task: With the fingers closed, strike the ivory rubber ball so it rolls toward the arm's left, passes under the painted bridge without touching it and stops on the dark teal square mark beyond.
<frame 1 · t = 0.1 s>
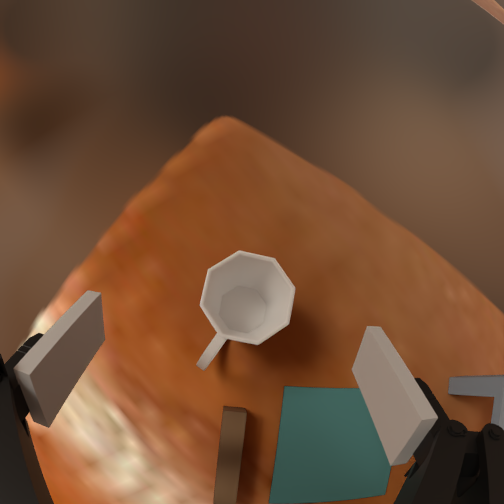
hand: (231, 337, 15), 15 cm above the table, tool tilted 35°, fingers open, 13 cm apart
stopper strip: (228, 454, 26), on the table
cup: (233, 324, 30), on the table
bridge: (451, 433, 27), on the table
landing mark: (339, 448, 27), on the table
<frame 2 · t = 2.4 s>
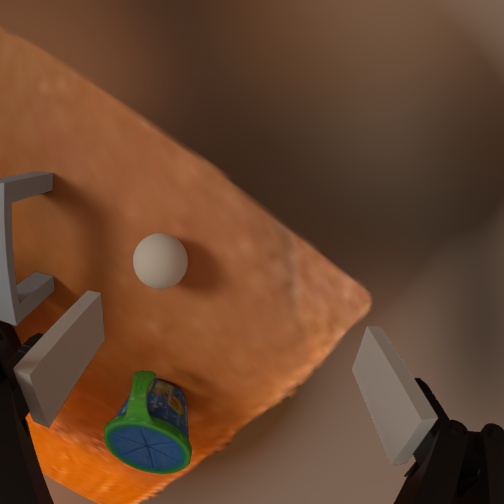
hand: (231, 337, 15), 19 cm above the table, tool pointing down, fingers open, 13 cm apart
snack cup: (160, 395, 40), on the table
ball: (160, 261, 31), on the table
bridge: (42, 233, 32), on the table
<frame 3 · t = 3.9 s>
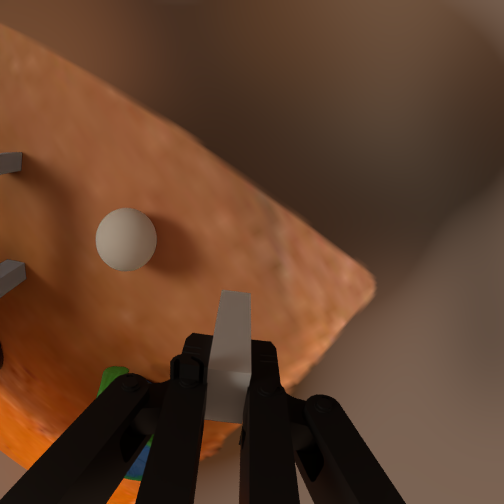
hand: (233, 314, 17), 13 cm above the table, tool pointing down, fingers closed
snack cup: (141, 394, 35), on the table
ball: (126, 239, 26), on the table
bridge: (12, 217, 28), on the table
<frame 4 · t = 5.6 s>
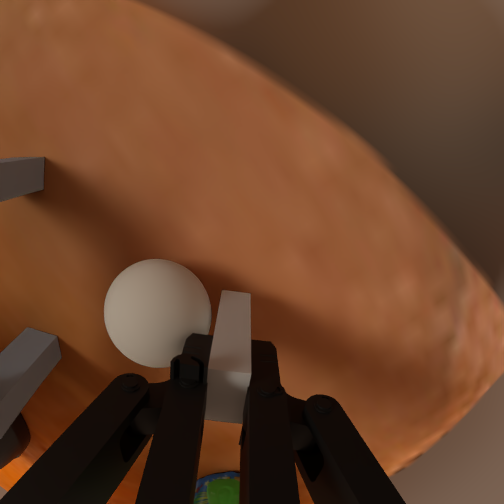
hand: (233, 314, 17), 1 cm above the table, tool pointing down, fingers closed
snack cup: (233, 485, 25), on the table
ball: (157, 313, 15), on the table
bridge: (31, 265, 18), on the table
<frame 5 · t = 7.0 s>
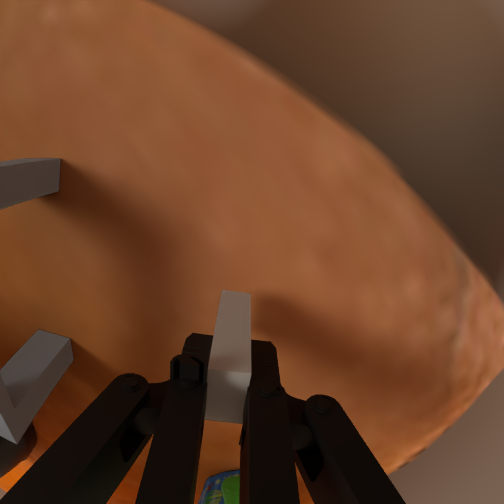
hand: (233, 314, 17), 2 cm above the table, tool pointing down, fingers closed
snack cup: (242, 483, 25), on the table
bridge: (44, 268, 18), on the table
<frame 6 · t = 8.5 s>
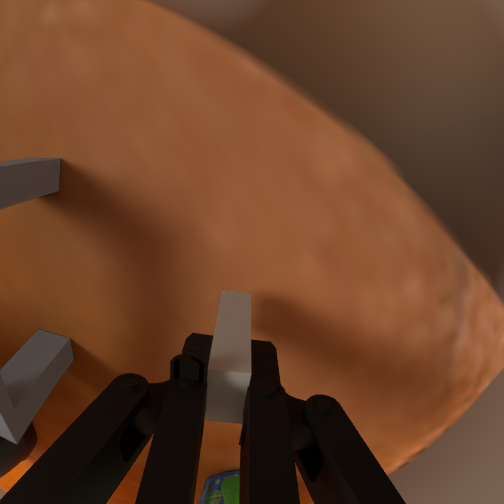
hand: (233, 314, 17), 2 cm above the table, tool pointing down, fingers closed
snack cup: (242, 483, 25), on the table
bridge: (44, 268, 18), on the table
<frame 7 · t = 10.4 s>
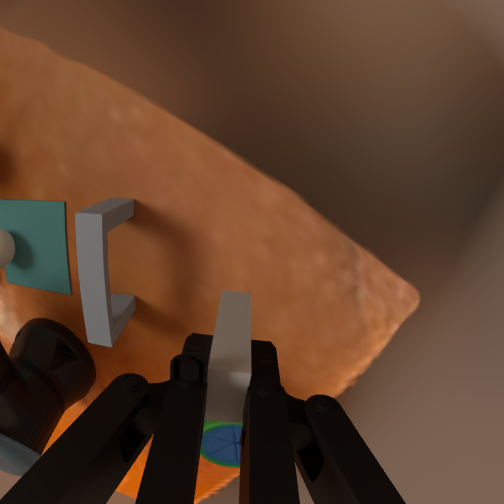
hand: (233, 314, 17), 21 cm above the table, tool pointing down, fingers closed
snack cup: (236, 396, 45), on the table
bridge: (122, 256, 38), on the table
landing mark: (31, 245, 37), on the table
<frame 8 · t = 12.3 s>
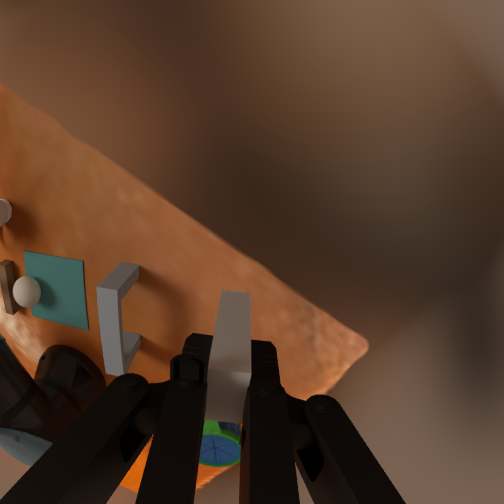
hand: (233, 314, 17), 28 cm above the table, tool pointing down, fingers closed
snack cup: (218, 411, 56), on the table
ball: (26, 291, 45), on the table
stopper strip: (12, 285, 47), on the table
cup: (2, 217, 44), on the table
bridge: (130, 305, 48), on the table
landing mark: (54, 290, 48), on the table
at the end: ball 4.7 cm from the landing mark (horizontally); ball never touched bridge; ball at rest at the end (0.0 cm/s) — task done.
